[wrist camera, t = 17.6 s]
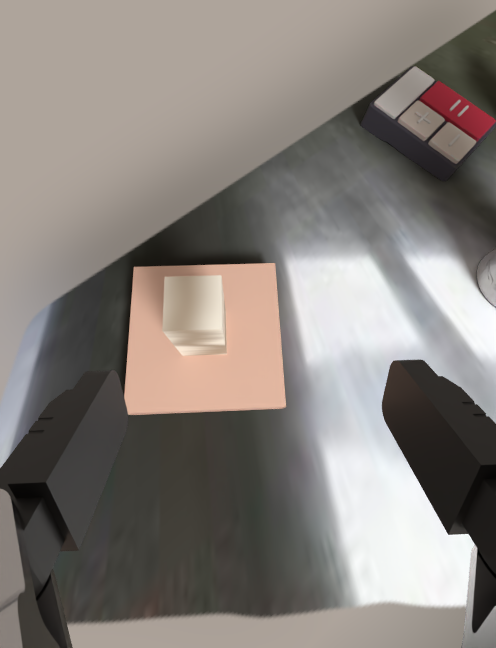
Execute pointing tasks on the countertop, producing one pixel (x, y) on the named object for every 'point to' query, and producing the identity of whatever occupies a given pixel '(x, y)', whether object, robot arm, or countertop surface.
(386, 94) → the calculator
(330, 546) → the countertop surface
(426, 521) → the countertop surface
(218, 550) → the countertop surface
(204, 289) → the ash block
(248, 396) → the plinth
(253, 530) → the countertop surface
